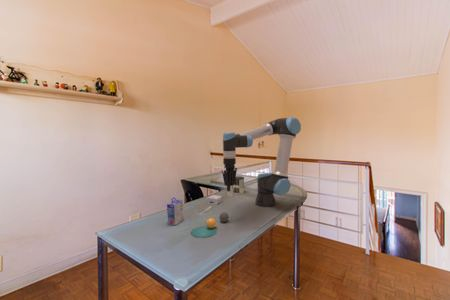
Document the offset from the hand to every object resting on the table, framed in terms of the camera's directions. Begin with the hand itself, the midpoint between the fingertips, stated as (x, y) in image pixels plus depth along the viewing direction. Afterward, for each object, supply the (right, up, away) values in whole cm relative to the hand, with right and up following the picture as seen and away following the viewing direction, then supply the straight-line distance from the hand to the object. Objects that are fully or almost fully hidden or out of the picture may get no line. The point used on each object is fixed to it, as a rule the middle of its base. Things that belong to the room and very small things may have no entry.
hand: (229, 196), depth 135 cm
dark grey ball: (-4, -12, -3) cm, 13 cm away
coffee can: (+9, -11, +64) cm, 65 cm away
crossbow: (-16, -15, +16) cm, 27 cm away
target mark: (-14, -16, -17) cm, 27 cm away
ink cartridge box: (-33, -15, -2) cm, 36 cm away
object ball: (-11, -13, -13) cm, 21 cm away
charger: (-10, -13, +38) cm, 42 cm away
